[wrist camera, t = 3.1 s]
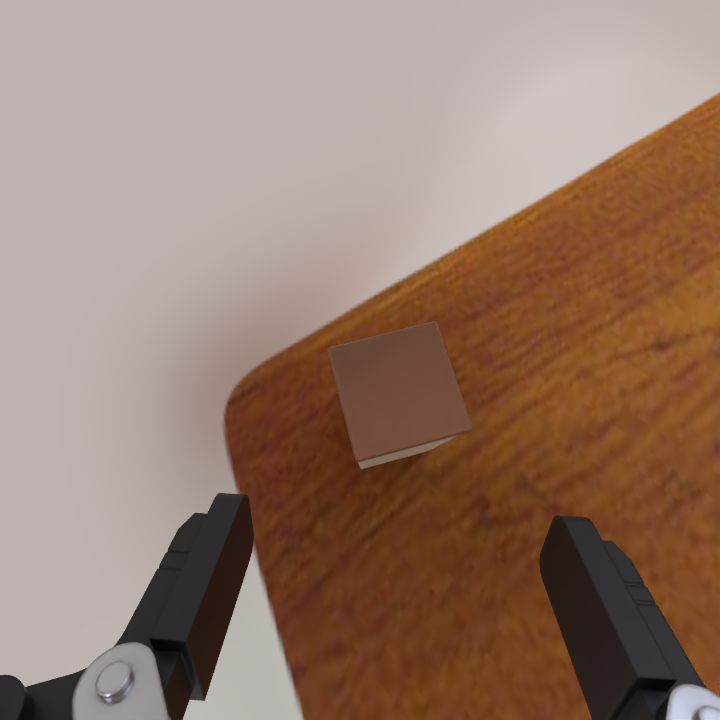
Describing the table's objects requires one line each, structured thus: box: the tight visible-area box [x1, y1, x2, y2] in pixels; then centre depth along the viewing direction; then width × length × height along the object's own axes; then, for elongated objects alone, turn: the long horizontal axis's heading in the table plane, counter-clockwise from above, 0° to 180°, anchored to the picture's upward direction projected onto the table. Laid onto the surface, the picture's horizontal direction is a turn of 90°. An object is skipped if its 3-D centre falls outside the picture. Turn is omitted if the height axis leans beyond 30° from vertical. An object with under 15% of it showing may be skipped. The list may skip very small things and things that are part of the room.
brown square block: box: [327, 321, 473, 469], centre depth 17 cm, size 4×4×9 cm
